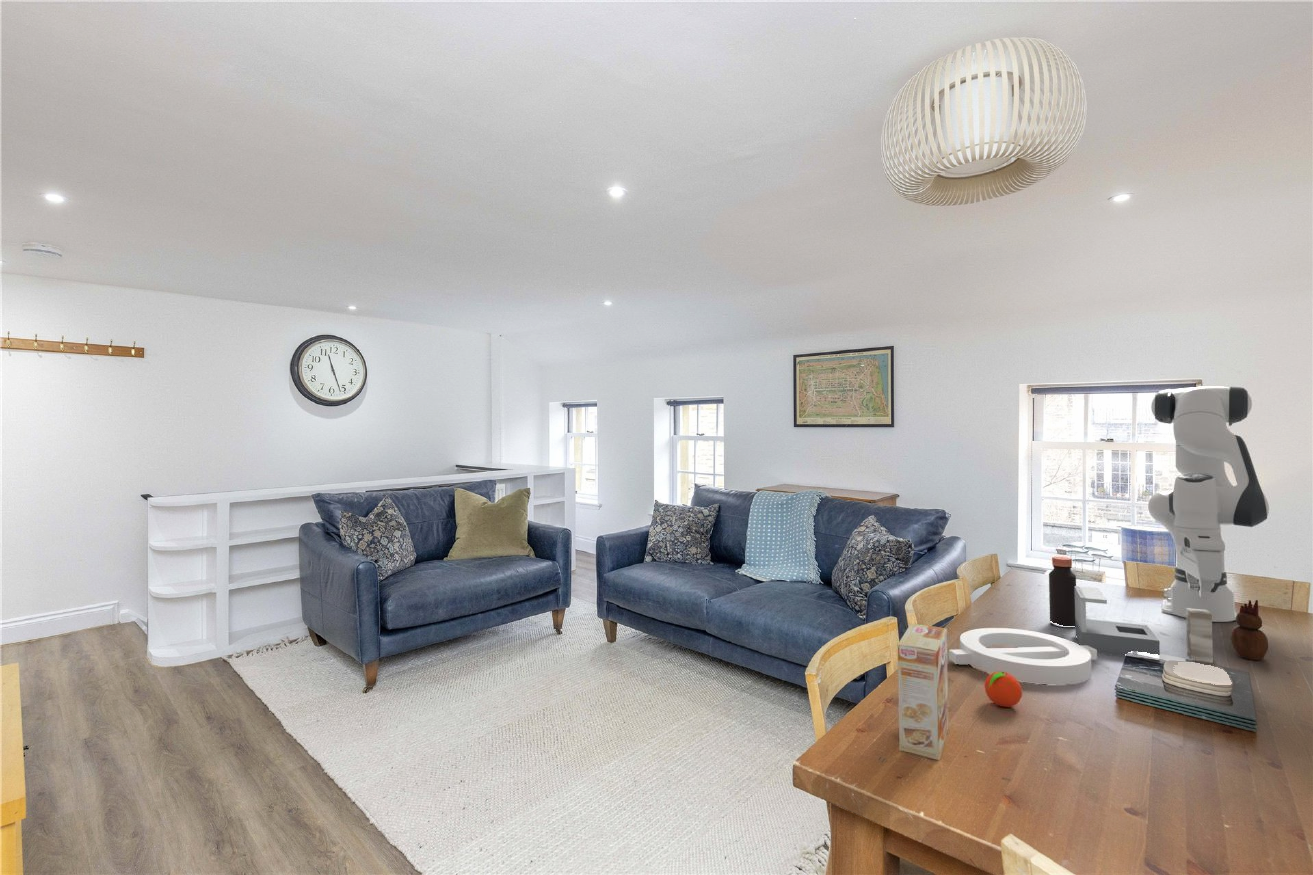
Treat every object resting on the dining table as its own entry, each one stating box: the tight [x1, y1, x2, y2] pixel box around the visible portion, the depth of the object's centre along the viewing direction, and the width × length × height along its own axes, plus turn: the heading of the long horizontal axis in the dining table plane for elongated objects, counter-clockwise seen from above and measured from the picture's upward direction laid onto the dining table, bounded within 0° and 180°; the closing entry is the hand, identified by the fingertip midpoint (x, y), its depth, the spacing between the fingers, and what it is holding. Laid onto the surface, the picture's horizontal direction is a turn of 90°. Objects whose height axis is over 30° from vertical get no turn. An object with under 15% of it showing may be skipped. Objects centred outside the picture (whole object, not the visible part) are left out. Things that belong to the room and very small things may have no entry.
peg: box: [1185, 608, 1214, 664], centre depth 152 cm, size 4×4×12 cm
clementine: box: [984, 672, 1023, 708], centre depth 128 cm, size 8×7×7 cm
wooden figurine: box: [1230, 599, 1269, 661], centre depth 152 cm, size 7×6×15 cm
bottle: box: [1048, 556, 1077, 626], centre depth 181 cm, size 7×7×20 cm
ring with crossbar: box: [948, 627, 1098, 686], centre depth 152 cm, size 28×28×5 cm
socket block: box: [1074, 585, 1161, 657], centre depth 161 cm, size 14×16×14 cm
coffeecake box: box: [897, 623, 949, 761], centre depth 115 cm, size 15×7×20 cm, turn 148°
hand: (1199, 593), depth 152 cm, fingers open, 8 cm apart
